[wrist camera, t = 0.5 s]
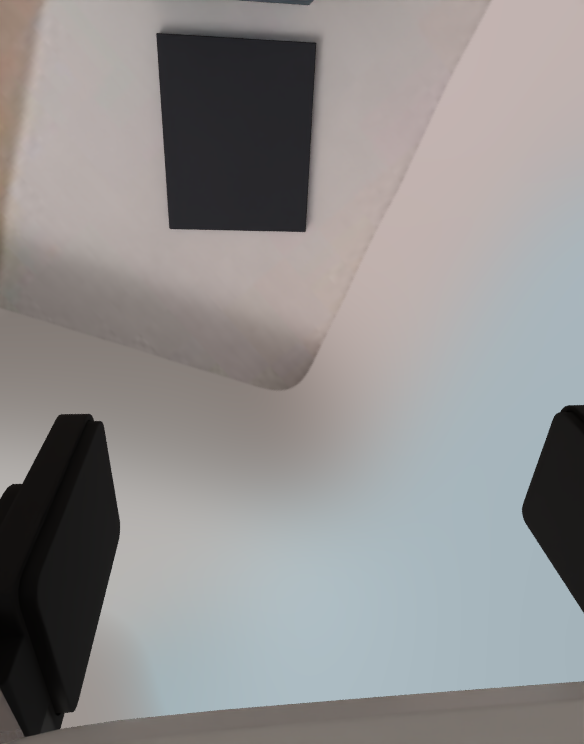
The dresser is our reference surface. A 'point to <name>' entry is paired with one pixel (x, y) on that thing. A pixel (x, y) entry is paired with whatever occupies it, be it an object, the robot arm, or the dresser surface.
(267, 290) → the dresser surface
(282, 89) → the mat
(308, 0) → the storage box
